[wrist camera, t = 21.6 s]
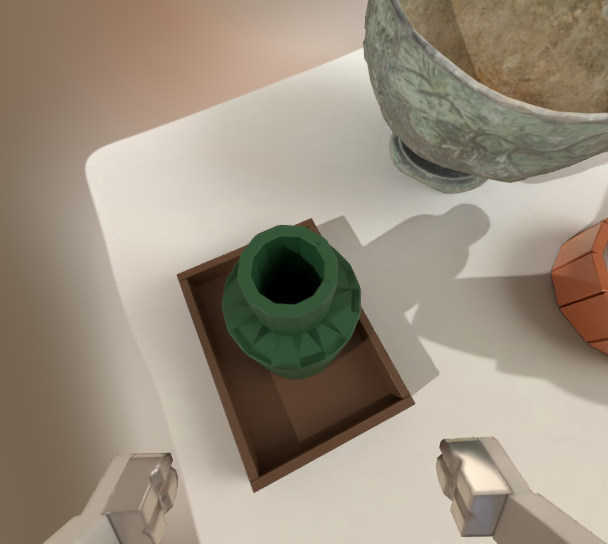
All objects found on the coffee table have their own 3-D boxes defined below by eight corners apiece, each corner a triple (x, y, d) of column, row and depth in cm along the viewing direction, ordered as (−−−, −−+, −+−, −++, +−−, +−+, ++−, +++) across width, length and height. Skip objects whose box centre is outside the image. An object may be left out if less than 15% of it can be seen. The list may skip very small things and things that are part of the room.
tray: (403, 402, 23) (415, 404, 20) (259, 481, 21) (253, 493, 18) (310, 233, 28) (311, 217, 25) (188, 286, 26) (176, 274, 23)
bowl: (411, 279, 26) (534, 146, 12) (312, 119, 32) (317, -90, 18) (595, 195, 29) (867, 10, 15) (471, 63, 35) (580, -154, 21)
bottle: (338, 381, 23) (379, 366, 10) (250, 376, 23) (182, 353, 10) (340, 296, 25) (375, 198, 12) (260, 292, 25) (214, 190, 13)
